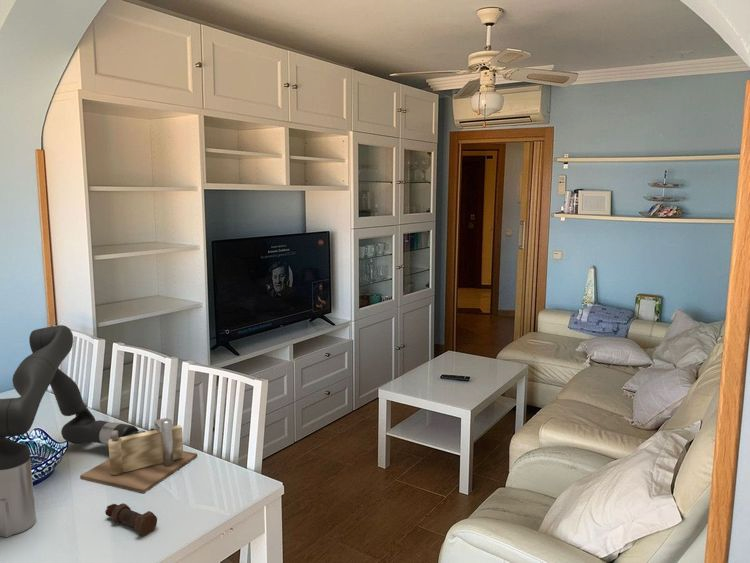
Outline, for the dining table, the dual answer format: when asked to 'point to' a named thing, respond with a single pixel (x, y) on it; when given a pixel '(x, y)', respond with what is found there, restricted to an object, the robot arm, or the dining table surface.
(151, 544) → the dining table surface
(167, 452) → the post
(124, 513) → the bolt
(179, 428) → the link
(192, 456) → the hinge base
